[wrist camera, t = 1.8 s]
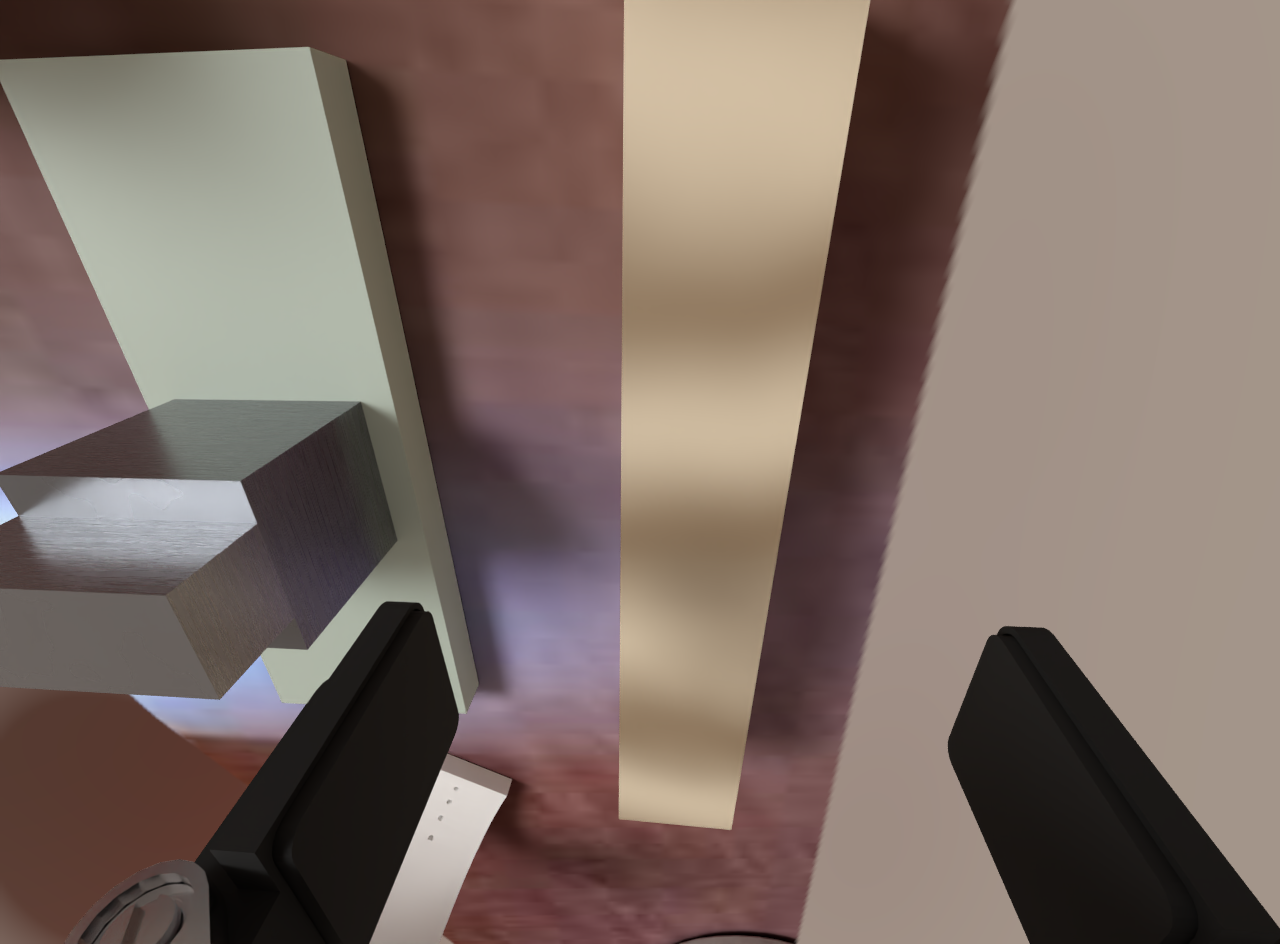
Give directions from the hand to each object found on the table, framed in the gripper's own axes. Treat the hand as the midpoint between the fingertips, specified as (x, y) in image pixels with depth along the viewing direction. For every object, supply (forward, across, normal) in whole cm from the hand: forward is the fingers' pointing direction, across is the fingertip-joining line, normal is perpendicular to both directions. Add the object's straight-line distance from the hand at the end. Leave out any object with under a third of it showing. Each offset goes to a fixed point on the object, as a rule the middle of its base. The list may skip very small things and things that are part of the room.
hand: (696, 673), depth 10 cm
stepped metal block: (+8, +13, +1) cm, 15 cm away
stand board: (+10, +13, +1) cm, 16 cm away
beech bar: (+10, 0, +1) cm, 10 cm away
